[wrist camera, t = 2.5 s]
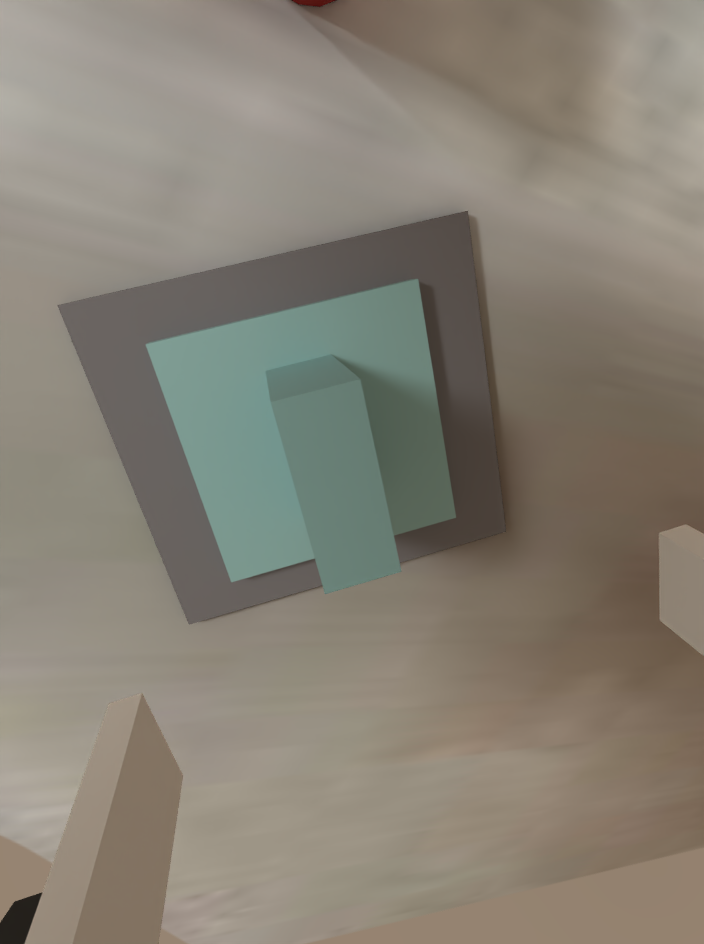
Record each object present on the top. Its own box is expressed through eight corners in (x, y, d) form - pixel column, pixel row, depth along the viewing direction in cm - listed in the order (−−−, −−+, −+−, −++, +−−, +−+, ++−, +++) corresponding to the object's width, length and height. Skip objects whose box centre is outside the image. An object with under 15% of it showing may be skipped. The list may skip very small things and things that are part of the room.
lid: (231, 573, 36) (224, 676, 26) (149, 342, 30) (101, 367, 20) (450, 510, 37) (517, 586, 28) (412, 279, 31) (481, 275, 22)
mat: (190, 617, 37) (189, 624, 36) (62, 305, 29) (57, 305, 28) (501, 526, 39) (506, 531, 39) (462, 212, 31) (467, 210, 31)
